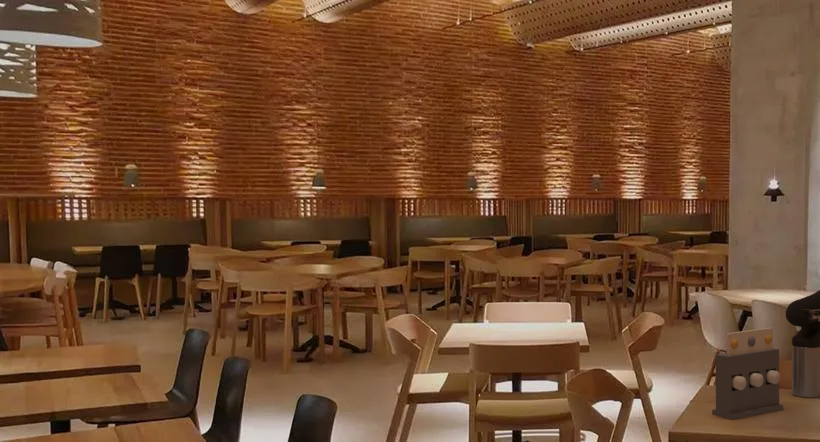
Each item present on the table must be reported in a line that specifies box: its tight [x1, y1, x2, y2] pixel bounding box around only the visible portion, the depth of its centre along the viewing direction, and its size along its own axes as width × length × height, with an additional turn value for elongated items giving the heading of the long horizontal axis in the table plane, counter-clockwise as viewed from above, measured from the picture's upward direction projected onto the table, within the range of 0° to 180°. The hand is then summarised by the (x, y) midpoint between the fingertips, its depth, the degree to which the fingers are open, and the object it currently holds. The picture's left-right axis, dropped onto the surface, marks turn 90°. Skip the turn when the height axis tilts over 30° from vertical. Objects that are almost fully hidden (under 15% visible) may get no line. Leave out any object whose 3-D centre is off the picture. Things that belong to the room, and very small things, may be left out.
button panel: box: [711, 347, 784, 421], centre depth 277 cm, size 24×8×20 cm, turn 119°
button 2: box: [766, 369, 781, 384], centre depth 278 cm, size 4×3×4 cm
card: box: [726, 327, 774, 356], centre depth 275 cm, size 21×1×7 cm, turn 119°
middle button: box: [749, 372, 764, 387], centre depth 274 cm, size 4×3×4 cm
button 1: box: [732, 375, 746, 390], centre depth 270 cm, size 4×3×4 cm
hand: (801, 312), depth 268 cm, fingers closed
